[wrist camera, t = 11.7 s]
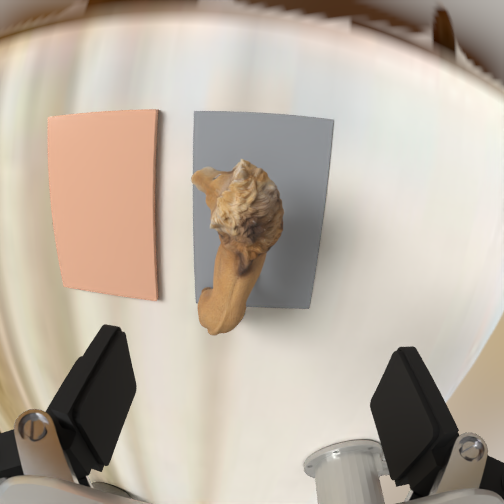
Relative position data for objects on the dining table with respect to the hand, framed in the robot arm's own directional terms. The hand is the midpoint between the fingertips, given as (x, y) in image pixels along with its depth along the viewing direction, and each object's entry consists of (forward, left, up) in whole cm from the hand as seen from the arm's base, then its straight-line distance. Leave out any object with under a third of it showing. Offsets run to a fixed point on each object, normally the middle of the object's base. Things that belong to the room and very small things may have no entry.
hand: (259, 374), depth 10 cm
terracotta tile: (+13, 0, -16) cm, 21 cm away
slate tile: (0, 0, -17) cm, 17 cm away
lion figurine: (+2, +1, -16) cm, 16 cm away
